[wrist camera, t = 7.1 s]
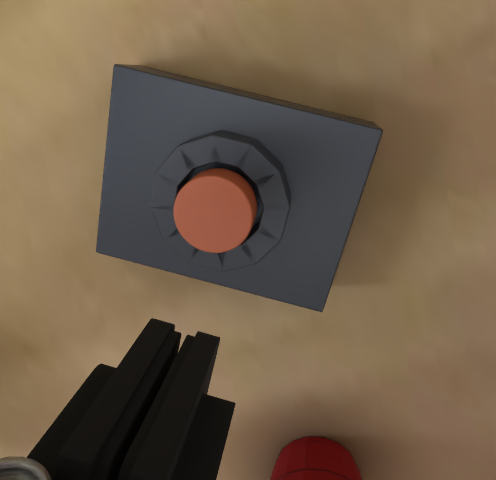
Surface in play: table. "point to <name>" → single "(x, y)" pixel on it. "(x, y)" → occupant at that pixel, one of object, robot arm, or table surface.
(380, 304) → the table surface
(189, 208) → the push button
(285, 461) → the plastic cup
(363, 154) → the button base
